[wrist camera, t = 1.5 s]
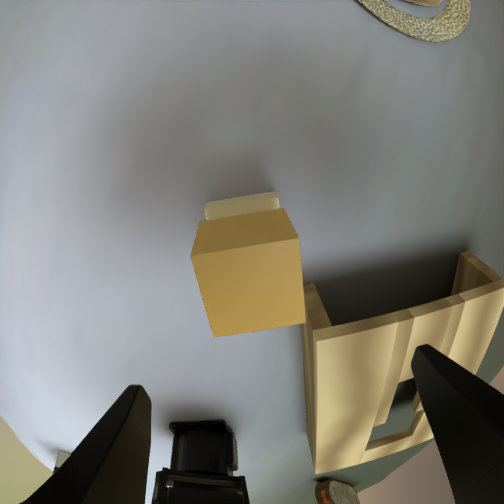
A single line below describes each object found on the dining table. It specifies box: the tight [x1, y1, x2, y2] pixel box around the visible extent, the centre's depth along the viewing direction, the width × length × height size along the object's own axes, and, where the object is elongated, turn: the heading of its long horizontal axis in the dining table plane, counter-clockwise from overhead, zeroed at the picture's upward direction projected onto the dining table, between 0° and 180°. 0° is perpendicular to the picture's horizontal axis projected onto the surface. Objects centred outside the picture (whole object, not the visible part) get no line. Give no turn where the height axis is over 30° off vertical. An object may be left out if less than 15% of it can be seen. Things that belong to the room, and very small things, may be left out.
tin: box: [315, 479, 360, 504], centre depth 39 cm, size 15×3×8 cm, turn 38°
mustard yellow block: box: [191, 191, 306, 337], centre depth 16 cm, size 4×4×8 cm
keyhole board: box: [301, 251, 504, 474], centre depth 24 cm, size 16×22×6 cm
